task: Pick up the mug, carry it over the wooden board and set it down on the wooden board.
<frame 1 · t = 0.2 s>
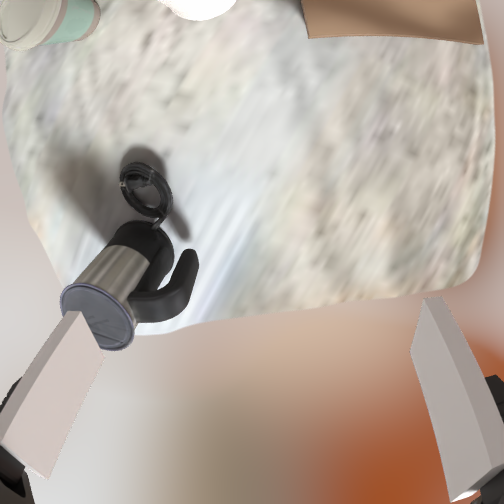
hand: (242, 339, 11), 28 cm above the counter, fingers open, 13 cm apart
coffee cup: (82, 20, 27), on the counter
milk frother: (145, 223, 41), on the counter
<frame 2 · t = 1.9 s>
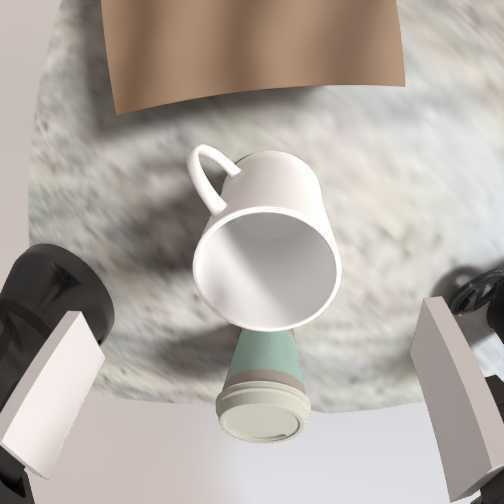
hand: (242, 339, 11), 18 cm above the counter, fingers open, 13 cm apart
coffee cup: (267, 332, 36), on the counter
mug: (260, 182, 27), on the counter
milk frother: (495, 294, 31), on the counter
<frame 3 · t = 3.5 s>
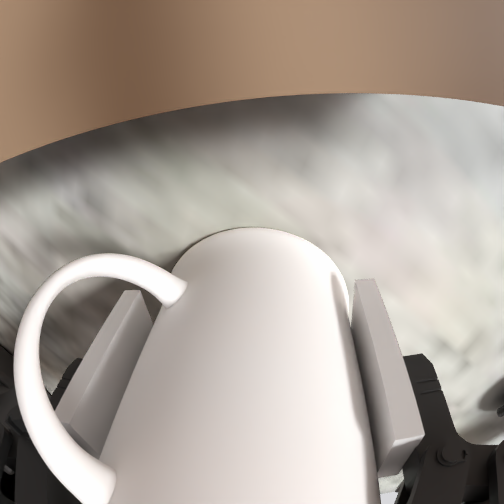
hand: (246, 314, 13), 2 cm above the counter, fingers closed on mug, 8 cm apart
mug: (236, 282, 15), on the counter, touching gripper
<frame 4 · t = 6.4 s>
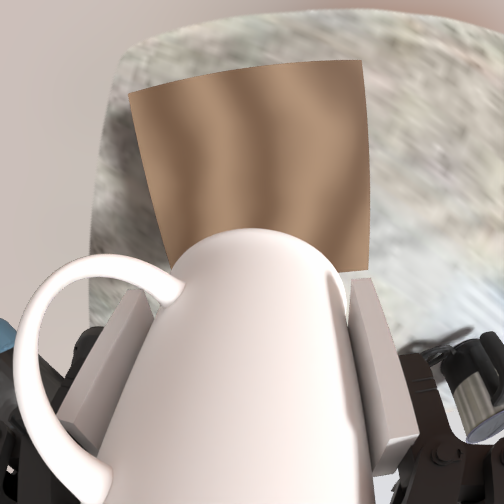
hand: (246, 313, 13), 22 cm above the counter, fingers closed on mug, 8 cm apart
mug: (234, 282, 15), point 19 cm above the counter, touching gripper
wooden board: (260, 161, 31), on the counter
milk frother: (447, 354, 43), on the counter
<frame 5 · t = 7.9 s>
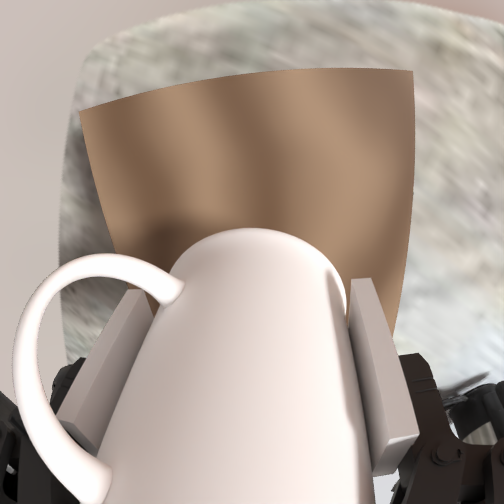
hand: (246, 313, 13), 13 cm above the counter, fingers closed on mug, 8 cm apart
mug: (234, 282, 15), point 11 cm above the counter, touching gripper
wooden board: (261, 197, 24), on the counter
milk frother: (457, 399, 37), on the counter
when the fingers open (10 cm above the counter, at t = 9.0 s): mug drops 1 cm, resting on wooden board.
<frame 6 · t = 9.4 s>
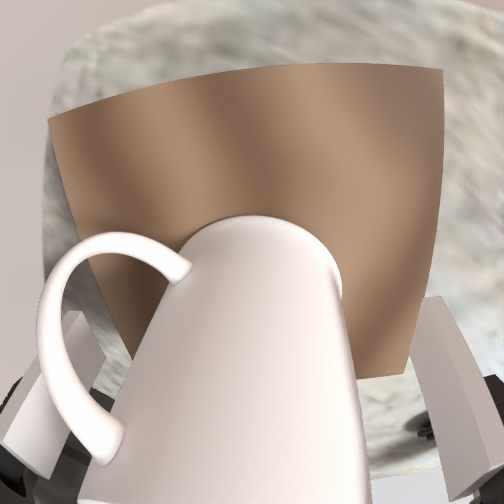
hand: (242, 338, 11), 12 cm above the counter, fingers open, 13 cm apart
mug: (237, 267, 16), point 7 cm above the counter, touching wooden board
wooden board: (261, 212, 22), on the counter
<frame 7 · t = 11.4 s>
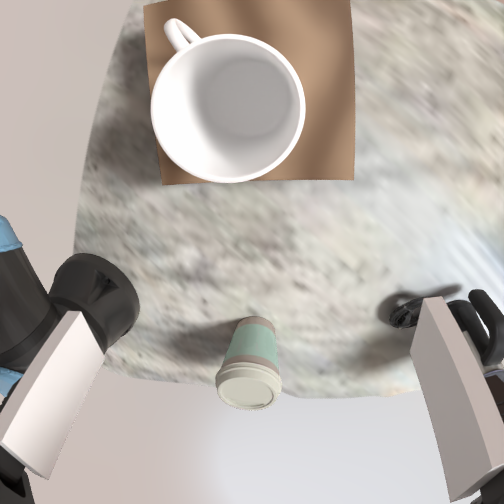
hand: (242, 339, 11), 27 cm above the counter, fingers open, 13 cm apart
coffee cup: (255, 329, 48), on the counter
mug: (240, 82, 25), point 7 cm above the counter, touching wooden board
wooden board: (256, 82, 31), on the counter
milk frother: (433, 315, 44), on the counter
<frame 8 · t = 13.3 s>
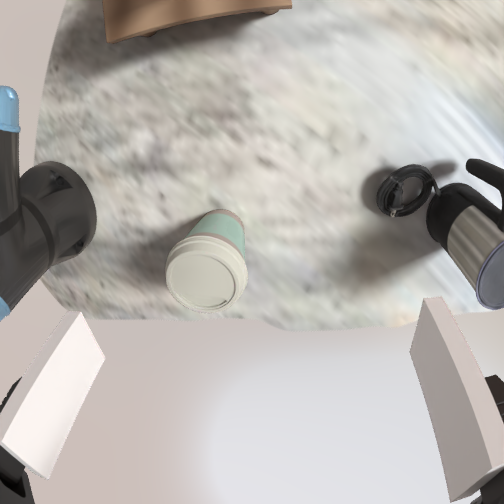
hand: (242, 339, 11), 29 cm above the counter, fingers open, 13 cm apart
coffee cup: (222, 229, 42), on the counter
milk frother: (431, 203, 37), on the counter
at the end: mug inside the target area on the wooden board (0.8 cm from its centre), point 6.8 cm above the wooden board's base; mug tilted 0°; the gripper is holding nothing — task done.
